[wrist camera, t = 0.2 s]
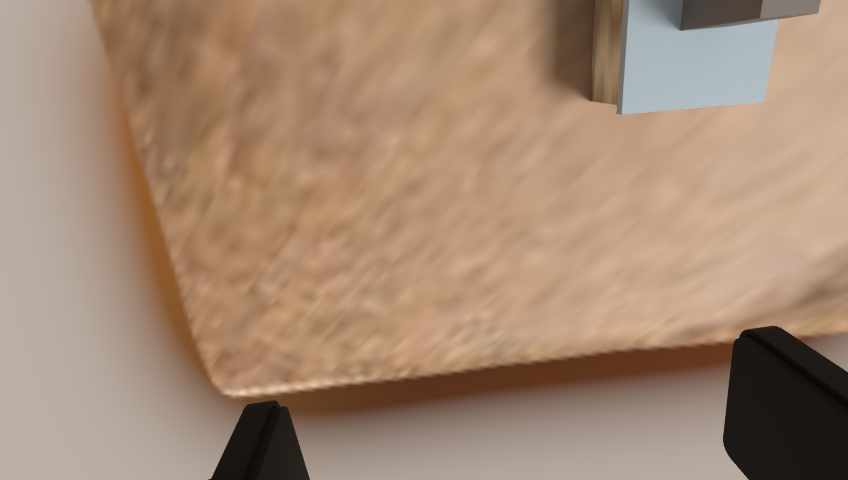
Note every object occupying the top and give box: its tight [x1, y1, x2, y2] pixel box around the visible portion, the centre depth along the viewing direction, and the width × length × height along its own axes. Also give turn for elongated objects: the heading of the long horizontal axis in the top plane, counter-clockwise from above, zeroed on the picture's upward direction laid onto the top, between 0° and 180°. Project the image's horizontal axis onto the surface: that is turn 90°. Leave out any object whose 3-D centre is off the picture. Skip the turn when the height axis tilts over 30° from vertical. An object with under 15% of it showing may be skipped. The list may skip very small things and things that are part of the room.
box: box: [590, 0, 624, 105], centre depth 33 cm, size 12×9×6 cm
